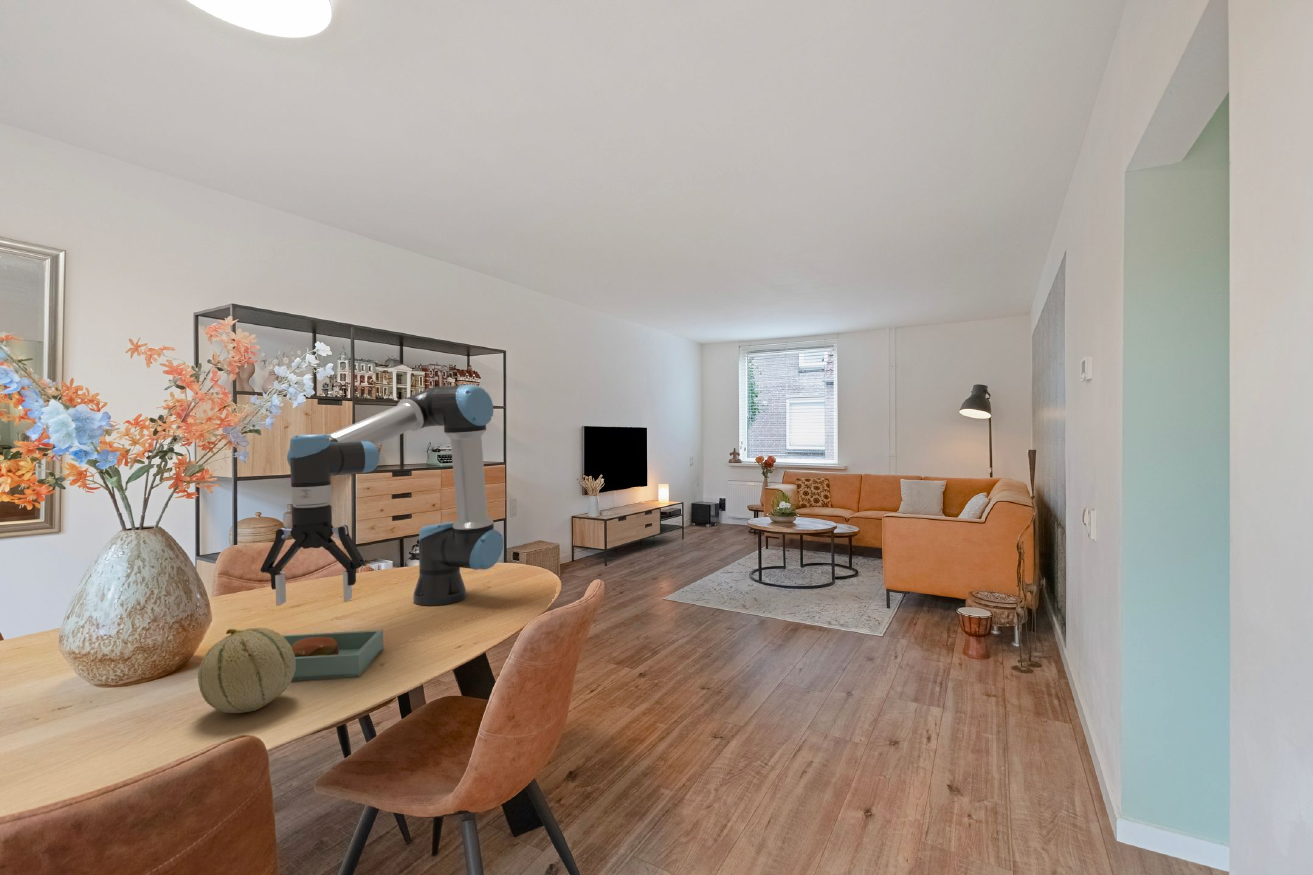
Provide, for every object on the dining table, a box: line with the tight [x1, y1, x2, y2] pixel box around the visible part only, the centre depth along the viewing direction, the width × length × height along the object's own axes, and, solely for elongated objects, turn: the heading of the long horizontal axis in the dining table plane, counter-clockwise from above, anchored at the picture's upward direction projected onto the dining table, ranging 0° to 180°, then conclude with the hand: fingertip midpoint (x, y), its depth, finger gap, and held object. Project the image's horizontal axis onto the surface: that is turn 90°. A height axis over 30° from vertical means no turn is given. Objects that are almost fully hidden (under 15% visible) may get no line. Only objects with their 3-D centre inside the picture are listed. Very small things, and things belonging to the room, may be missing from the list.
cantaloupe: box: [197, 627, 296, 714], centre depth 108 cm, size 15×15×15 cm
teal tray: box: [281, 629, 384, 682], centre depth 128 cm, size 16×24×4 cm, turn 98°
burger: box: [291, 637, 339, 657], centre depth 129 cm, size 10×9×5 cm
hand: (314, 601), depth 129 cm, fingers open, 13 cm apart
